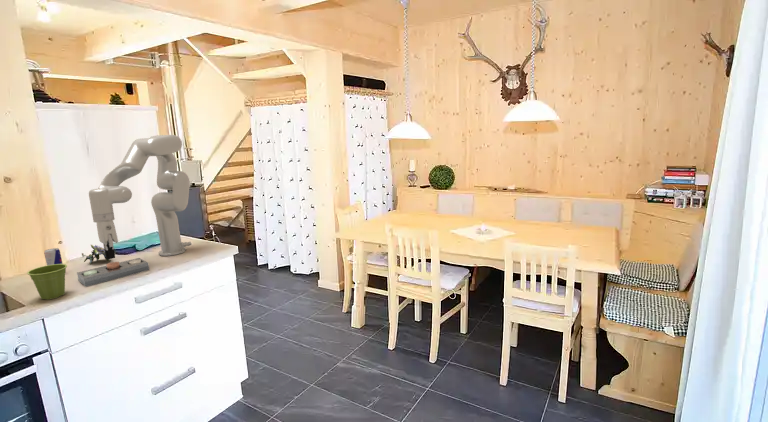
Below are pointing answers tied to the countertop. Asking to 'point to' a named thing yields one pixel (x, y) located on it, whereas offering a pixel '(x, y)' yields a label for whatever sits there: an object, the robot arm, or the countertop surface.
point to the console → (112, 272)
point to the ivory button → (134, 262)
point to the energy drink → (53, 256)
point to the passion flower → (95, 253)
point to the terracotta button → (113, 265)
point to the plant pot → (49, 280)
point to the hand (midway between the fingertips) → (110, 258)
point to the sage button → (90, 272)
